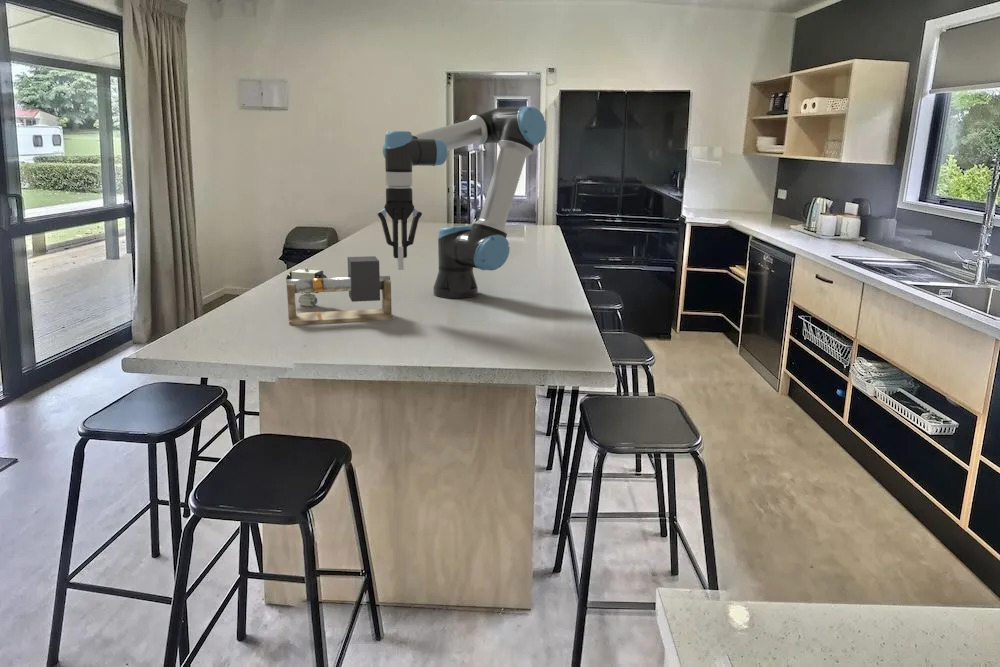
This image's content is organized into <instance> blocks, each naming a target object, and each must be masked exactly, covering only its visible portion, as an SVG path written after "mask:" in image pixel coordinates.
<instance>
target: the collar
mask: <svg viewBox="0 0 1000 667" xmlns="http://www.w3.org/2000/svg"><path fill="white" fill-rule="evenodd" d="M380 276H381V275H380V260H379V259H378V258H377V257H376V256H375V255H372V256H367V255H365V256H347V277H351V291H348V297H349V299H350V300H351V302H352V303H355V302H357V303H358V302H373V301H375V302H377V301H381V290H380Z"/></svg>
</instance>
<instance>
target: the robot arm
mask: <svg viewBox="0 0 1000 667" xmlns="http://www.w3.org/2000/svg"><path fill="white" fill-rule="evenodd" d="M546 134H547V123H546V120H545V116H544V114H543V113H542V112H541V110H539V109H538V108H537V107H534V106H527V105H522V106H502V107H500V106H499V107H497V108H496V107H495V108H493V109H490V110H487V111H483V112H480V113H478V114H475V115H471V116H470V117H469V119H468V120H464V121H460V122H456V123H454V124H449V125H445V126H441V127H438V128H433V129H430V130H426V131H423V132H419V133H414V134H412V132H411V131H406V130H405V131H404V130H388V131H386V132H385V137H384V143H383V146H382V155H383V157H384V159H385V160H384V162H385V168H384V169H385V186H387V187H386V188H385V205H384V207H383V209H381V210H380V211H377V212H376V215H377V216H378V218H379V219H380V222H381V226H382V230H383V234H384V238H385V240H386V244H387V245H388V246H391V247H392V253H393V254H392V256H393V258H394V259H396V269H397V270H400V271H402V270H403V271H404V269H405V267H404V266H405V265H404V259H407V258H408V246H412V245H414V241H415V237H416V233H417V232H416V231H417V229H418V228H417V227H418V223H419V220H420V218H421V217H422V215H423V213H422V211H419V210H417V208H415V205H414V203H413V188H412V186H413V167H415V166H423V167H425V166H428V167H429V166H430V167H431V166H432V167H436V166H441V165H443V164H445V162H446V161H447V157H448V152H449V151H452V150H456V149H459V148H463V147H467V146H469V145H473V144H475V145H478V146H481V145H485V144H498V147H499V148H500V149H499V150H500V151H499V153H498V156H497V160H496V163H495V167H494V170H493V173H492V176H491V179H490V183H489V186H488V189H487V193H486V195H485V199H484V202H483V206H482V210H481V212H480V214H479V218H478V220H476V221H474V222H473V223H472V225H461V226H460V225H459V226H447V227H446V226H444V227H440V229H439V230H438V238H437V241H438V242H437V245H438V246H437V247H438V248H437V249H438V254H437V255H438V272H437V274H436V278H435V281H434V283H433V284H434V285H433V295H434V296H436V297H439V298H447V299H467V298H472V297H473V298H474V297H476V296H477V295H478V294H479V292H478V291H479V288H478V283H477V281H476V277H475V274H474V268H475V269H478V270H481V271H489V272H490V271H495V270H497V269H499V268H501V267H503V265H505V263H506V261H507V260H508V259H509V254H510V242H509V241H508V239H507V236H508V232H507V230H506V228H505V227H506V224H507V220H508V217H509V214H510V212H511V209H512V204H513V200H514V198H515V194H516V191H517V188H518V183H519V181H520V177H521V175H522V172H523V168H524V165H525V162H526V160H527V159H526V158H527V157H528V156H531V155H533V151H534V148H535V146H537V145H539V144H541V143H542V142H543V141H544V139H545V138H546ZM387 215H388V216H389V217H390V218H391V222H392V225H391V226H392V238H391V234H390V230H389V226H388V222H387V220H386V218H387ZM411 215H412V221H411V225H410V229H409V234H408V219H409V218H410V216H411ZM399 221H400V228H401V230H400V231H401V245H399Z"/></svg>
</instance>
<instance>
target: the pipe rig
mask: <svg viewBox="0 0 1000 667" xmlns="http://www.w3.org/2000/svg"><path fill="white" fill-rule="evenodd" d="M285 281H286V280H285ZM286 282H287V281H286ZM286 282H285V283H286ZM286 293H287V294H286V295H287V298H286V299H287V312H288V313H287V316H288V325H289V326H296V325H297V326H299V325H300V326H301V325H315V324H318V325H319V324H333V323H334V324H337V323H353V322H371V321H373V322H374V321H388V320H390V321H392V320H394V316H393V314H392V312H393V310H392V280H391V279H390V280H384V289H383V290H381V307H382V308H370V309H353V310H334V311H333V310H331V311H312V312H311V311H309V312H297V309H296V307H297V306H296V293H295V287H294V284H287V283H286Z"/></svg>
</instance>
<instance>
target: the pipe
mask: <svg viewBox="0 0 1000 667" xmlns="http://www.w3.org/2000/svg"><path fill="white" fill-rule="evenodd" d="M384 280H391V275H380V291H382V290H383V289H384ZM285 281H287V283H286V285H287V284H294V287H295V294H301V293H303V294H306V293H310V294H314V293H313V292H319V293H326V292H327V293H331V292H333V293H334V292H335V293H336V292H349V291H351V277H348V276H347V277H346V276H344V277H327V278H311V279H286V278H285Z"/></svg>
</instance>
